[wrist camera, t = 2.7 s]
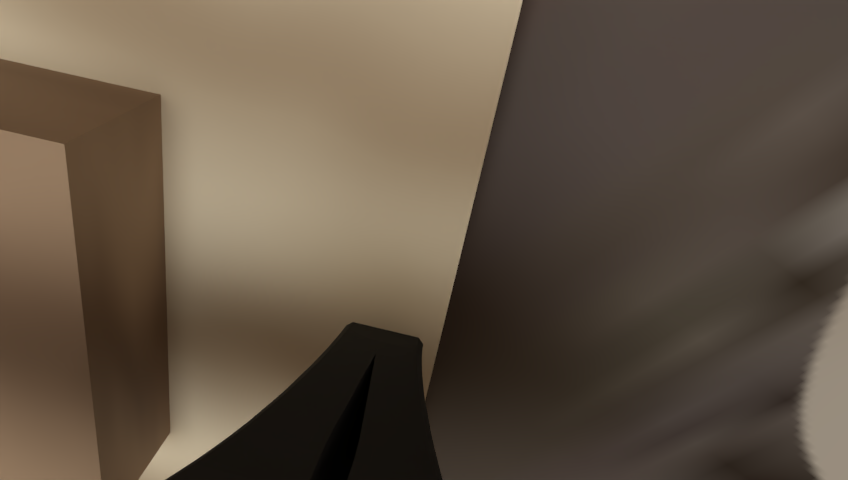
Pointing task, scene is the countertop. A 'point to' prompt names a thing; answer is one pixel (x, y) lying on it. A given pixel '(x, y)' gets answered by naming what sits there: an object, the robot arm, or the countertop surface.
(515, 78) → the countertop surface
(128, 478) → the tan cardboard box
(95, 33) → the bench board
